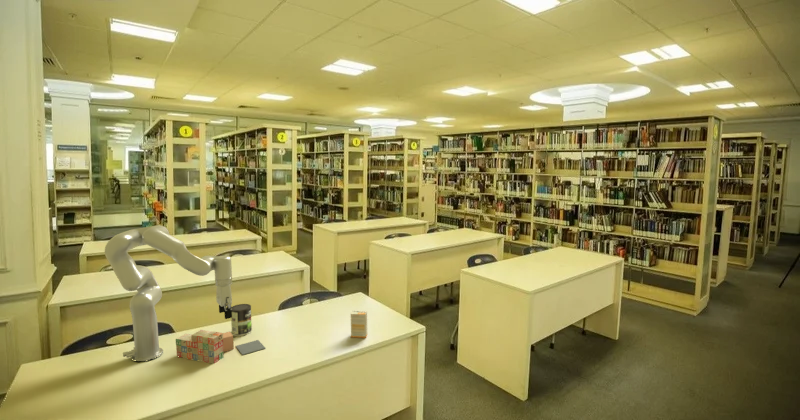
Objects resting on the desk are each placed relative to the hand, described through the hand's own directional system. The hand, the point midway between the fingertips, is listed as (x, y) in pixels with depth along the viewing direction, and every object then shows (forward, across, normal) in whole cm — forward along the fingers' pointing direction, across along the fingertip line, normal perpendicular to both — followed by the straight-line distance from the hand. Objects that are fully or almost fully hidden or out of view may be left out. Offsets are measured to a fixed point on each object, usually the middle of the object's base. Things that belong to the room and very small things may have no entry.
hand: (225, 315), depth 187 cm
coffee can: (+17, -14, +11) cm, 25 cm away
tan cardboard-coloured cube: (+17, +1, -1) cm, 17 cm away
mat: (+17, +7, +9) cm, 20 cm away
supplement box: (+18, +30, +59) cm, 68 cm away
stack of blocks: (+17, +2, -13) cm, 21 cm away
